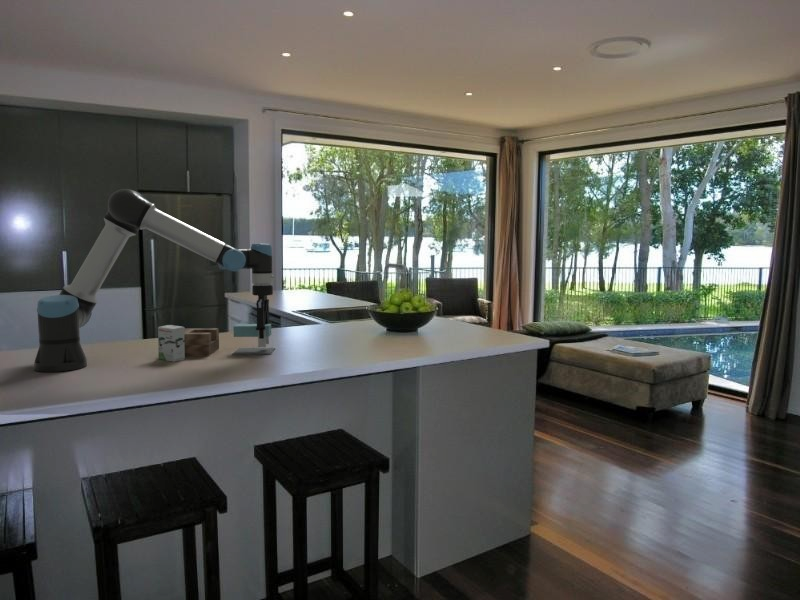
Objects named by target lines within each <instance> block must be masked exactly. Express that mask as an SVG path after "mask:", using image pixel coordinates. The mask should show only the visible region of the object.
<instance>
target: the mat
mask: <svg viewBox="0 0 800 600" xmlns="http://www.w3.org/2000/svg"><path fill="white" fill-rule="evenodd" d="M275 350H276V347H239V348H237V349H236V350H234V352H232V354H231V355H232V356H247V355H248V356H250V355H252V356H255V355H257V356H258V355H259V356H260V355H262V356H263V355H264V356H266V355H267V356H268V355H269V356H270V354H271V355H272V354H273V352H274V351H275Z"/></svg>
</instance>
